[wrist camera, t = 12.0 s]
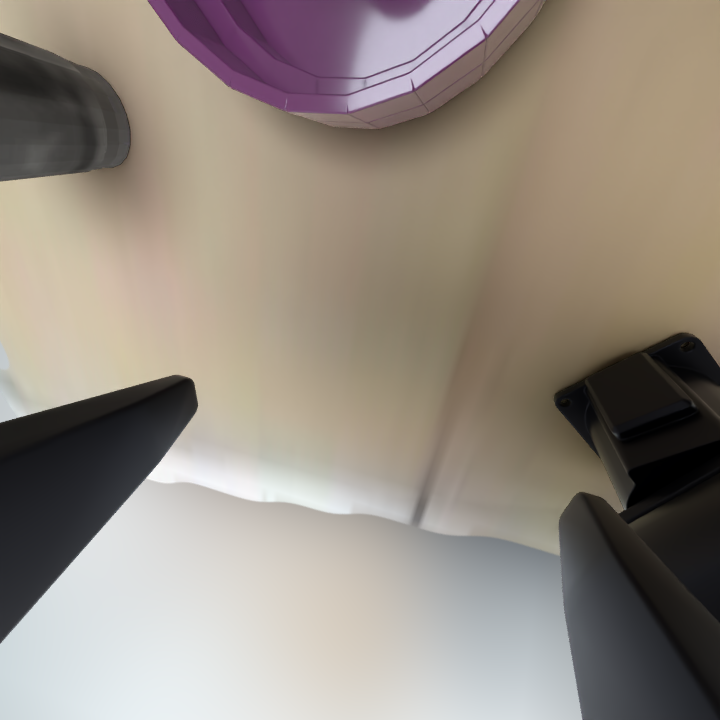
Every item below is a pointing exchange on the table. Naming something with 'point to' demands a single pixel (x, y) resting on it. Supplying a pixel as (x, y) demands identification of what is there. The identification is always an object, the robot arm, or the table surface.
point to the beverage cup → (55, 115)
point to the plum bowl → (348, 51)
